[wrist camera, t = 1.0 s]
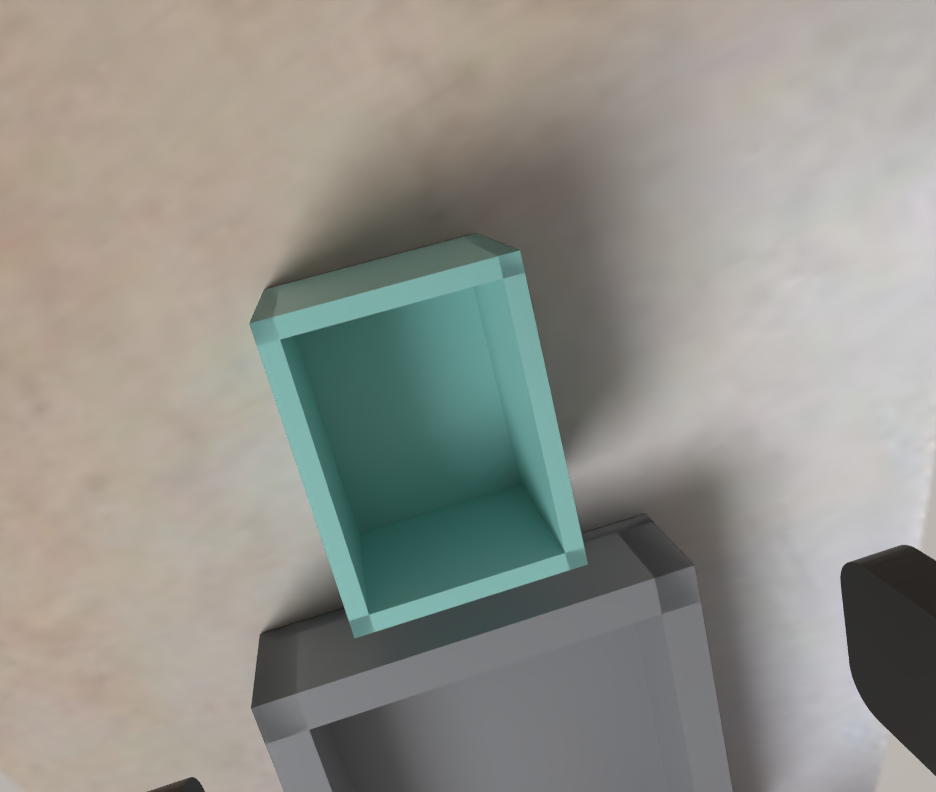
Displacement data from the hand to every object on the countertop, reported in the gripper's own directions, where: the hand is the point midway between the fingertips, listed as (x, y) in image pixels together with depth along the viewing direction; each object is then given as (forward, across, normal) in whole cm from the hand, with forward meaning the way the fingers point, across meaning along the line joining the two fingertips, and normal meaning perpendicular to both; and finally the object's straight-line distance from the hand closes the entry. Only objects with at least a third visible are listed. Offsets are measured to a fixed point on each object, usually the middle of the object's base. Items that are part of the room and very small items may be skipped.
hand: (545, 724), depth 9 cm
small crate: (+14, 0, 0) cm, 14 cm away
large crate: (+14, 0, +13) cm, 19 cm away
